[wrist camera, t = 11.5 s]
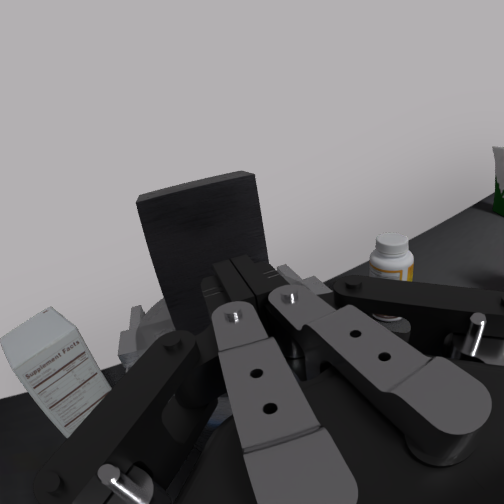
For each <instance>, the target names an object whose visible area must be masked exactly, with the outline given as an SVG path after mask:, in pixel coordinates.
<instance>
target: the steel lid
mask: <svg viewBox="0 0 504 504" xmlns="http://www.w3.org/2000/svg"><path fill="white" fill-rule="evenodd" d="M136 205H137V209H138V213H139V217H140V221H141V224H142V228H143V232H144V235H145V239H146V242H147V246H148V249H149V252H150V256H151V259H152V262H153V266H154V268H155V272H156V275H157V278H158V281H159V284H160V287H161V290H162V293H163V296H164V298H163V299H161V300H160V301H159V302H157V303H156V304H155V305H154V306H153V307H152V308H151V309H150V310H149V311H148V312H147V313H146V314H145V316H144V317H143V319H142V320H141V322H140V324H139V326H138V328H134V329H130V330H126V331H122V332H121V333H120V341H119V350H118V356H119V359H120V360H121V362H122V364H123V366H124V368H126V367H130V366H133V365H134V364H135V362H136V361H137V360H138V359H139V358H140V357H141V356H142V355H143V354H144V353H145V351H146V350H147V349H148V348H149V347H150V346H151V345H152V344H153V343H154V342H155V341H156V340H157V339H158V338H159V337H160V336H162V335H164V334H166V333H168V332H172V331H177V330H184V331H188V332H191V333H192V334H193V335H194V336H196V335H198V334H200V333H202V332H203V331H204V330H206V329H207V328H208V327H209V325H210V324H211V319H210V316H209V313H208V310H207V306H206V303H205V300H204V296H203V292H202V289H201V285H200V284H201V282H202V280H203V278H206V277H209V276H213V275H214V272H213V268H212V264H213V263H217V262H220V261H224V260H227V259H229V260H230V259H231V258H234V257H238V256H242V255H245V254H247V255H248V256H249V258H250V259H251V260H252V261H253V262H254V263H257V262H264V263H267V264H269V260H268V254H267V247H266V241H265V235H264V229H263V222H262V216H261V210H260V203H259V197H258V191H257V185H256V180H255V174H252V173H249V172H245V171H237V172H232V173H227V174H223V175H219V176H214V177H210V178H205V179H201V180H197V181H192V182H188V183H184V184H180V185H176V186H172V187H168V188H164V189H160V190H157V191H153V192H149V193H146V194H142V195H139V197H138V199H137V201H136ZM280 275H281V274H280ZM281 276H282V277H283V278H284V279H285V280H286V281H287V282H288V283H289V284H290V285H292V284H294V285H301V286H304V287H306V288H308V289H309V290H310V291H312V292H313V293H314V294H316V295H318V294H325V293H331V292H333V291H332V290H331V289H329V288H328V287H327V286H326V285H325V284H323V283H322V282H321V281H320V280H319V279H317V278H316V277H315V276H312V277H310V278H306V279H303V280H300V281H297V280H295V279H293V278H290V277H288V276H284V275H281ZM219 397H229V396H228V392H226V393H224V394H223V395H221V396H219Z"/></svg>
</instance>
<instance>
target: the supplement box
mask: <svg viewBox="0 0 504 504" xmlns="http://www.w3.org/2000/svg"><path fill="white" fill-rule="evenodd" d="M0 343H1V346H2V348H3V351H4V353H5V355H6V358H7V360H8V362H9V364H10V366H11V368H12V370H13V372H14V373H15V374H16V376H17V377H18V379H19V380H20V382H21V383H22V384H23V386H24V387H25V388H26V390H27V391H28V392H29V394H30V395H31V396H32V398H33V399H34V400H35V402H36V403H37V404H38V405H39V407H40V408H41V409H42V411H43V412H44V413H45V414H46V415H47V417H48V418H49V419H50V420H51V421H52V422H53V424H54V425H55V426H56V427H57V428H58V429H59V430H60V431H61V432H62V433H63V434H64V436H65V437H66V438H68V437H69V436H70V435H71V434H72V433H73V432H74V431H75V429H76V428H77V427H78V426H79V425H80V424H81V423H82V422H83V420H84V419H85V418H86V417H87V416H88V415H89V414H90V413H91V411H92V410H93V409H94V408H95V407H96V406H97V405H98V404H99V402H100V401H101V400H102V399H103V398H104V397H105V396H106V395H107V394H108V392H109V391H110V390H111V389H112V388H111V386H110V385H109V383H108V382H107V380H106V378H105V377H104V375H103V373H102V372H101V370H100V368H99V367H98V365H97V363H96V361H95V360H94V358H93V356H92V354H91V353H90V351H89V349H88V347H87V345H86V344H85V342H84V340H83V338H82V336H81V334H80V333H79V331H78V329H77V327H76V326H75V325H74V324H72V323H71V322H70V321H68V320H67V319H66V318H65V317H63V315H61V314H60V313H58V312H57V311H56V310H55V309H53V307H49V308H47V309H45V310H43V311H41V312H40V313H38V314H36V315H35V316H33V317H32V318H30V319H29V320H27V321H26V322H24V323H23V324H21V325H20V326H18V327H17V328H15V329H14V330H12V331H11V332H9V333H7V334H6V335H4V336H3V337H2V338H0Z"/></svg>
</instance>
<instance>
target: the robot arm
mask: <svg viewBox="0 0 504 504" xmlns="http://www.w3.org/2000/svg"><path fill="white" fill-rule="evenodd" d="M212 268H213V272H214V275H213V276H209V277H206V278H203V280H202V282H201V284H200V285H201V289H202V292H203V296H204V300H205V303H206V306H207V310H208V313H209V316H210V319H211V324H210V325H209V327H208V328H207V329H206V330H204V331H203V332H202V333H200V334H198V335H196V336H194V335H193V334H192V333H191V332H188V331H184V330H177V331H172V332H168V333H166V334H164V335H162V336H160V337H159V338H158V339H157V340H156V341H155V342H154V343H153V344H152V345H151V346H150V347H149V348H148V349H147V350H146V351H145V353H144V354H143V355H142V356H141V357H140V358H139V359H138V360H137V361H136V362H135V364H134V365H133V366H132V367H131V368H130V369H129V370H128V371H127V372H126V374H125V375H124V376H123V377H122V378H121V379H120V380H119V381H118V382H117V384H116V385H115V386H114V387H113V388H112V389H111V390H110V391H109V392H108V394H107V395H106V396H105V397H104V398H103V399H102V400H101V401H100V402H99V404H98V405H97V406H96V407H95V408H94V409H93V410H92V411H91V413H90V414H89V415H88V416H87V417H86V418H85V419H84V420H83V422H82V423H81V424H80V425H79V426H78V427H77V428H76V429H75V431H74V432H73V433H72V434H71V435H70V436H69V437H68V438H67V440H66V441H65V442H64V443H63V444H62V445H61V446H60V448H59V449H58V450H57V451H56V452H55V453H54V454H53V456H52V457H51V458H50V459H49V460H48V461H47V462H46V464H45V465H44V466H43V467H42V468H41V469H40V470H39V472H38V473H37V475H36V477H35V479H34V483H33V492H34V495H35V498H36V500H37V501H38V502H39V503H40V504H171V500H170V497H169V495H168V493H167V492H166V489H167V488H168V486H169V485H170V483H171V481H172V480H173V478H174V477H175V475H176V473H177V472H178V470H179V469H180V467H181V465H182V464H183V462H184V461H185V459H186V457H187V456H188V454H189V452H190V451H191V449H192V448H193V446H194V444H195V443H196V441H197V439H198V438H199V436H200V434H201V433H202V431H203V429H204V427H205V426H206V424H207V422H208V421H209V419H210V417H211V416H212V414H213V412H214V410H215V409H216V407H217V405H218V397H219V396H221V395H223V394H224V393H226V392H228V396H229V400H230V404H231V408H232V412H233V414H232V415H231V416H229V417H228V418H227V419H226V420H224V421H223V422H222V423H221V424H220V425H219V426H218V427H217V428H216V429H215V431H214V432H213V433H212V435H211V436H210V438H209V439H208V441H207V443H206V445H205V447H204V449H203V451H202V452H201V454H200V456H199V458H198V460H197V462H196V464H195V466H194V468H193V469H192V471H191V473H190V475H189V477H188V479H187V480H186V482H185V484H184V486H183V488H182V490H181V491H180V493H179V495H178V497H177V498H176V500H175V502H174V504H504V291H494V290H485V289H475V288H466V287H457V286H447V285H438V284H429V283H420V282H411V281H403V280H394V279H385V278H376V277H368V276H359V275H350V276H345V277H342V278H340V279H338V280H337V281H336V282H335V283H334V286H333V287H334V292H331V293H325V294H318V295H316V294H314V293H313V292H312V291H310V290H309V289H308V288H306V287H304V286H301V285H294V284H292V285H290V284H289V283H288V282H287V281H286V280H285V279H284V278H283V277H282V276H281V275H280V274H279V273H278V272H277V271H276V270H275V269H274V268H273V267H272V266H271V265H270V264H267V263H264V262H257V263H254V262H253V261H252V260H251V259H250V258H249V256H248V255H247V254H245V255H242V256H238V257H234V258H231V259H230V260H229V259H227V260H224V261H220V262H217V263H213V264H212ZM373 313H374V314H381V315H387V316H394V317H401V318H405V319H407V320H408V321H409V322H410V324H411V331H410V332H408V333H399V332H392V331H389V330H388V329H386V328H385V327H383V326H382V325H381V324H379V323H378V322H376V321H375V320H373V319H372V317H373ZM172 396H173V397H172ZM171 397H172V398H171ZM170 399H171V400H170ZM169 400H170V401H169ZM167 403H168V404H167ZM166 404H167V405H166ZM165 406H166V407H165ZM164 407H165V408H164Z"/></svg>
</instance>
